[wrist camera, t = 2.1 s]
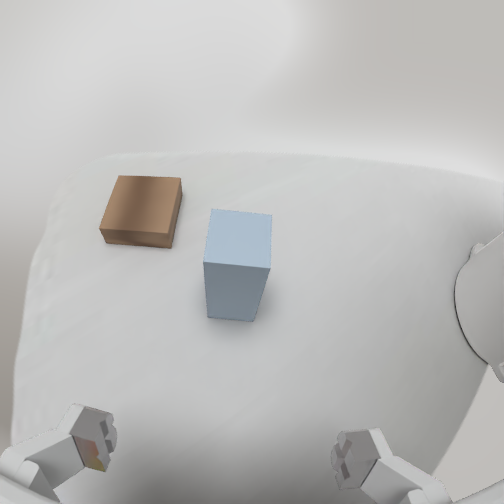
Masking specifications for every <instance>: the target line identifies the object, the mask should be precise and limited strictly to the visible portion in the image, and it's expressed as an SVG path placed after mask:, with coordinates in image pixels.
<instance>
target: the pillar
mask: <svg viewBox="0 0 504 504" xmlns="http://www.w3.org/2000/svg"><path fill="white" fill-rule="evenodd" d="M271 232H272V215H267V214H258V213H249V212H239V211H229V210H218V209H212V210H211V216H210V222H209V228H208V234H207V241H206V247H205V253H204V260H203V265H204V278H205V291H206V303H207V314H208V317H211V318H220V319H231V320H241V321H254V318H255V315H256V312H257V308H258V305H259V302H260V299H261V296H262V293H263V290H264V287H265V284H266V281H267V278H268V274H269V271H270V267H271Z"/></svg>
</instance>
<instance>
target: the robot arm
mask: <svg viewBox="0 0 504 504" xmlns="http://www.w3.org/2000/svg"><path fill="white" fill-rule="evenodd" d="M455 302H456V309H457V314H458V318H459V321H460V324H461V327H462V330H463V332H464V334H465V336H466V338H467V340H468V342H469V343H470V345H471V346H472V348H473V349H474V350H475V352H476V353H477V354H478V355H479V356H480V357H481V358H482V359H484V360H485V361H486V362H487V363H488V364H489V365H490V366H491V367H492V369H493V371H494V372H495V374H496V376H497V378H498V379H499V380H500V382H503V383H504V231H503V232H502V233H501V234H499V235H498V236H497V237H496V238H494V239H493V240H492V241H491V242H489V243H488V244H487V245H484V244H481V243H477V244H476V245H475V246H473V248H472V250H471V254H470V259H469V261H468V262H467V263H466V264H465V265H464V266H463V267H462V268H461V270H460V272H459V274H458V277H457V280H456V285H455ZM113 421H114V418H113V414H111V413H109V412H105V411H101V410H98V409H94V408H91V407H88V406H84V405H80V404H77V403H74V404H72V405H71V407H70V408H69V410H68V411H67V413H66V414H65V416H64V417H63V419H62V421H61V422H60V424H59V425H58V427H57V429H56V430H55V429H51V430H49V431H46V432H44V433H42V434H40V435H37V436H35V437H33V438H30V439H28V440H25V441H23V442H21V443H18V444H16V445H13V446H11V447H9V448H6V450H5V451H4V453H3V454H2V455H1V457H0V504H62V503H61V502H60V500H59V498H58V497H57V495H56V494H55V492H54V491H53V489H54V488H56V487H57V486H59V485H60V484H62V483H63V482H65V481H66V480H67V479H69V478H70V477H72V476H73V475H75V474H76V473H78V472H79V471H80V470H82V469H83V468H84V466H85V467H88V468H92V469H95V470H99V471H103V472H106V470H107V467H108V465H109V462H110V456H109V454H110V453H111V452H113V451H114V449H115V447H116V442H117V431H116V428H115V427H114V426H113V425H112V424H113ZM337 440H338V443H337V444H336V445H334V447H333V449H332V453H331V463H332V467H333V469H335V470H336V471H337V472H338V473H337V475H336V481H337V484H338V487H339V490H342V489H351V488H359V487H361V488H360V489H361V490H363V491H364V492H365V493H366V494H367V495H368V496H369V497H370V498H372V499H373V500H374V501H375V502H376V503H377V504H504V479H503V480H501V481H499V482H497V483H495V484H493V485H492V486H489V487H488V488H485V489H483V490H481V491H479V492H477V493H475V494H472V495H470V496H468V497H466V498H463V499H461V500H459V501H456V502H454V503H453V502H452V500H451V498H450V497H449V495H448V493H447V491H446V489H445V488H444V486H443V484H442V482H441V481H439V480H438V479H436V478H434V477H432V476H431V475H429V474H427V473H425V472H424V471H422V470H420V469H418V468H417V467H415V466H413V465H412V464H410V463H408V462H407V461H405V460H403V459H402V458H400V457H398V456H394V455H393V453H392V451H391V449H390V447H389V445H388V443H387V441H386V439H385V437H384V436H383V434H382V432H381V430H380V429H379V428H372V429H362V430H352V431H341V432H340V433H339V435H338V437H337Z"/></svg>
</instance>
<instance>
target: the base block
mask: <svg viewBox="0 0 504 504" xmlns="http://www.w3.org/2000/svg"><path fill="white" fill-rule="evenodd" d="M181 199H182V186H181V178H173V177H151V176H118V179H117V181H116V184H115V186H114V189H113V191H112V194H111V197H110V199H109V202H108V205H107V207H106V210H105V213H104V216H103V218H102V221H101V224H100V227H99V229H100V231H101V233H102V235H103V237H104V239H105V241H106V243H110V244H122V245H134V246H147V247H159V248H171V247H172V242H173V237H174V232H175V227H176V222H177V217H178V213H179V208H180V203H181Z"/></svg>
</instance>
